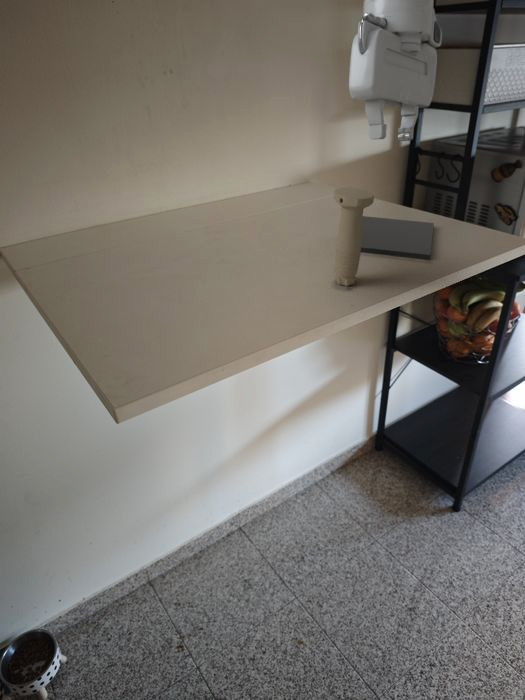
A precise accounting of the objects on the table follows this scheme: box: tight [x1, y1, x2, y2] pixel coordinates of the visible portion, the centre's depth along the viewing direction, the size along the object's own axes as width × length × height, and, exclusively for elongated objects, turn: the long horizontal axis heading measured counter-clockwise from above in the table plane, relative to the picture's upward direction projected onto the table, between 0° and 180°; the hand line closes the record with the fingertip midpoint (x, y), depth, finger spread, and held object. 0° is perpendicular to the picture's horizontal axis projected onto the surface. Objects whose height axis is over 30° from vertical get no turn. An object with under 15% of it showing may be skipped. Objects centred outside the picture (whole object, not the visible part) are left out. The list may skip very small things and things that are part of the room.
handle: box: [333, 186, 375, 287], centre depth 79 cm, size 5×6×15 cm
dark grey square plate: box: [361, 215, 435, 261], centre depth 100 cm, size 16×18×1 cm
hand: (392, 140), depth 70 cm, fingers open, 8 cm apart
